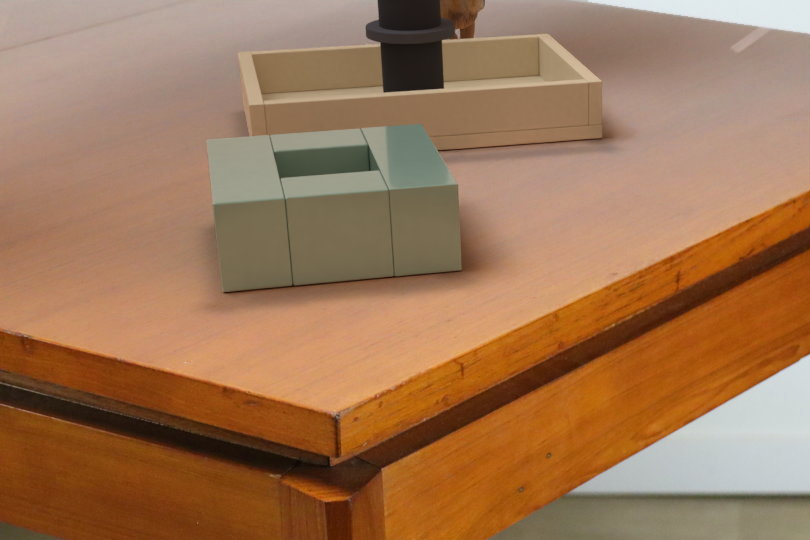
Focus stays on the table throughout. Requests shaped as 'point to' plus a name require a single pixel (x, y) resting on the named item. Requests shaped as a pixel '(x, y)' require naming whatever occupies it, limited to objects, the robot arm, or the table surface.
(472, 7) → the lion figurine
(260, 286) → the block
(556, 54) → the wooden tray
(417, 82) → the plug
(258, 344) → the table surface
